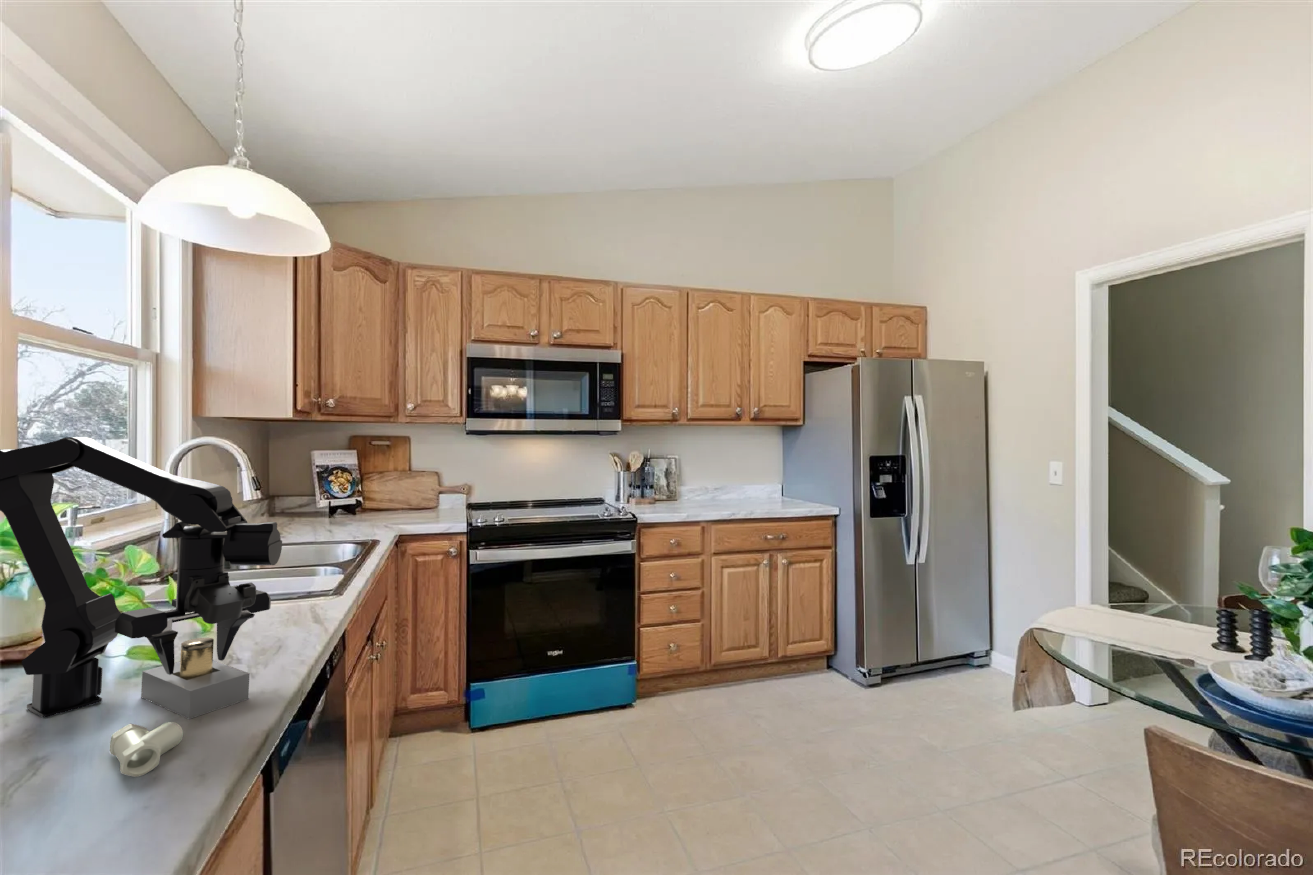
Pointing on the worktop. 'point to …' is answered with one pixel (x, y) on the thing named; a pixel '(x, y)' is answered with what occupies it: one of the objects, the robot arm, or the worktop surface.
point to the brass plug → (196, 658)
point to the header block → (195, 689)
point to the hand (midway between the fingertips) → (196, 666)
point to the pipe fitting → (143, 746)
